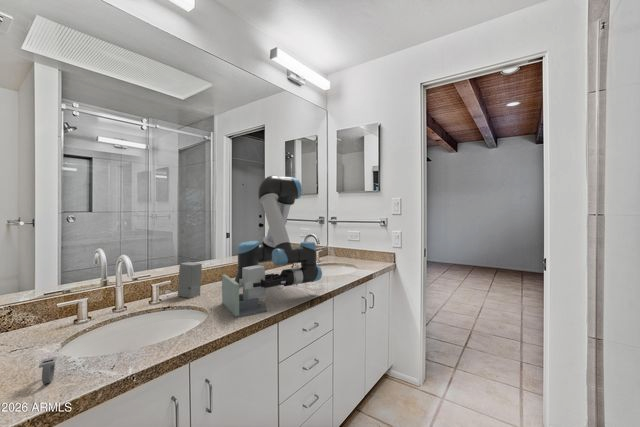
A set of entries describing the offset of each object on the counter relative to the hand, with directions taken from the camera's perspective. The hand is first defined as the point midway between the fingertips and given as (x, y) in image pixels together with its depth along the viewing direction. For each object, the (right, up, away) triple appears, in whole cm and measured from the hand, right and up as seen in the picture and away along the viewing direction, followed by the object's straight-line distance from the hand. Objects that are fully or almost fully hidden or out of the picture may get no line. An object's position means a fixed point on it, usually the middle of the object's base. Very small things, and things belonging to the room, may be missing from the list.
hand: (242, 284), depth 118 cm
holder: (+1, -10, +1) cm, 10 cm away
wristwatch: (-32, -11, -51) cm, 61 cm away
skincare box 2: (+4, -8, +3) cm, 10 cm away
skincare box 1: (-30, -10, +18) cm, 37 cm away
